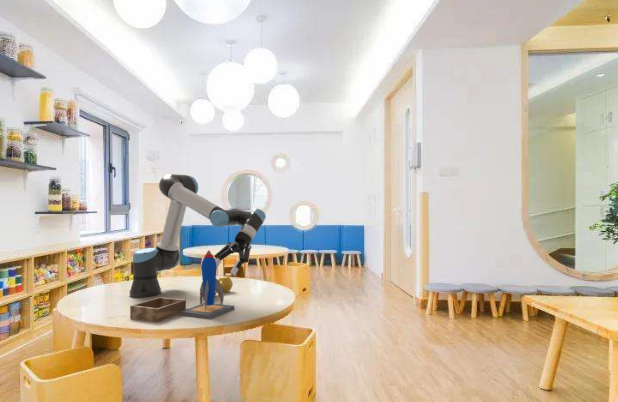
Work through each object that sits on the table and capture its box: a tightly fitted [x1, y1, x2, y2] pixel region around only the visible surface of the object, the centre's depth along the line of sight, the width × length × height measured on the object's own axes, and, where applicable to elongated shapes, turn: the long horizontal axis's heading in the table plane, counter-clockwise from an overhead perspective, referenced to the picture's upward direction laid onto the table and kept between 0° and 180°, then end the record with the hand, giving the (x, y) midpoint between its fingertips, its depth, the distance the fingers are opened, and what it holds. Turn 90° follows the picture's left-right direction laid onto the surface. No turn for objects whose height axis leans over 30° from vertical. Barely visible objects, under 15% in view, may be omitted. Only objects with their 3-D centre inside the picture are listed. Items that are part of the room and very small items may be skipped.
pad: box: [179, 302, 235, 320], centre depth 168 cm, size 16×16×2 cm
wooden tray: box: [129, 296, 187, 323], centre depth 165 cm, size 15×16×5 cm
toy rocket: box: [199, 250, 224, 310], centre depth 169 cm, size 11×10×25 cm
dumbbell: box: [203, 275, 234, 299], centre depth 200 cm, size 19×9×8 cm, turn 160°
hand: (221, 272), depth 175 cm, fingers open, 13 cm apart
